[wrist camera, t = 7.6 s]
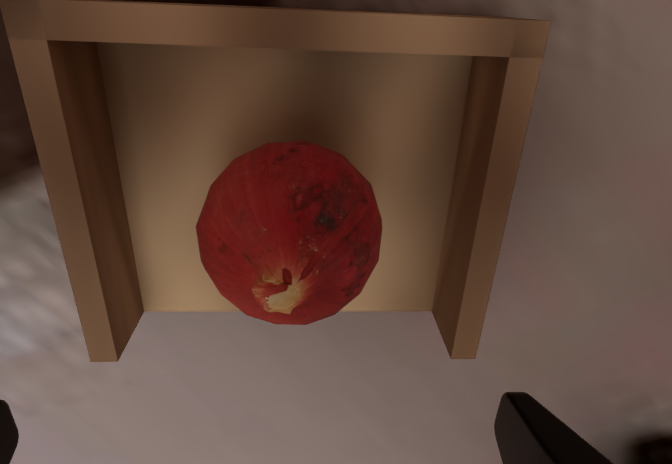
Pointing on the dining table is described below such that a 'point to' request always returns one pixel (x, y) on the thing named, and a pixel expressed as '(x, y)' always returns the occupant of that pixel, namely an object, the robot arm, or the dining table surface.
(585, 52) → the dining table surface
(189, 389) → the dining table surface
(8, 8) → the shallow wooden tray
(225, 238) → the pomegranate
